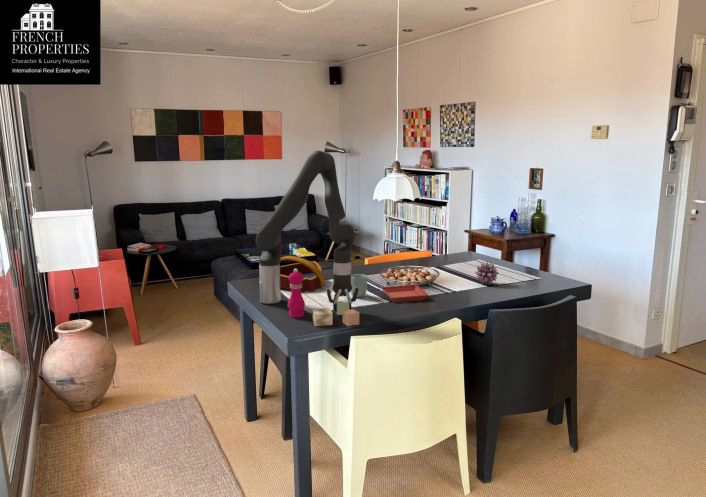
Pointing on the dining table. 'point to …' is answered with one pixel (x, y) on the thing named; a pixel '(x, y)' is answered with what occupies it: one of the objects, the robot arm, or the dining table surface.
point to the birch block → (322, 317)
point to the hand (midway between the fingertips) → (342, 311)
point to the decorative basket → (306, 268)
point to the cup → (359, 284)
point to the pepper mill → (296, 295)
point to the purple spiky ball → (486, 273)
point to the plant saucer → (405, 293)
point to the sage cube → (342, 306)
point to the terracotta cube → (350, 317)
